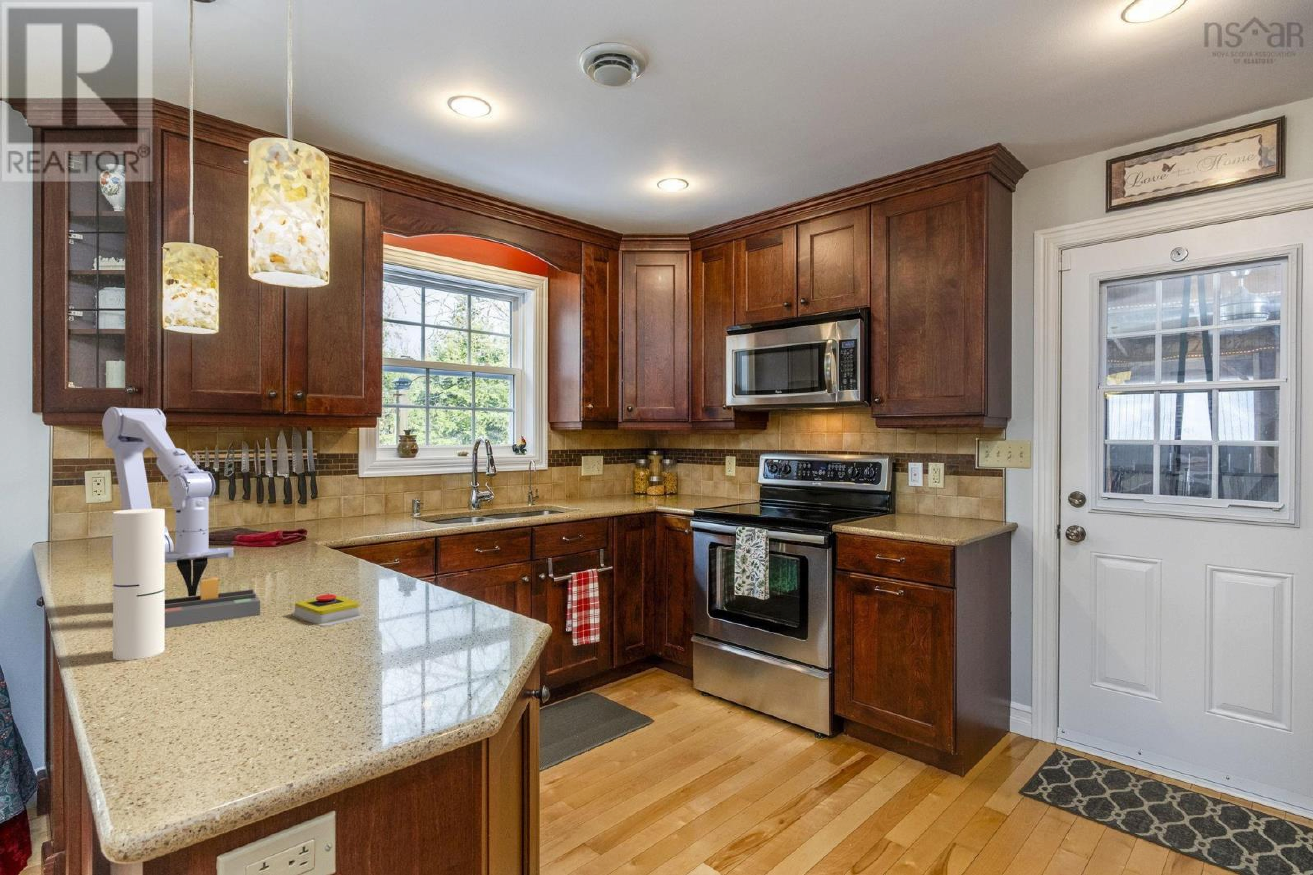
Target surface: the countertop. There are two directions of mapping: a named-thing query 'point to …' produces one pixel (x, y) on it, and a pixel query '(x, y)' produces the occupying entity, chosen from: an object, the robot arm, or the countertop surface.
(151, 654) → the cylindrical container
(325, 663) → the countertop surface
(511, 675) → the countertop surface
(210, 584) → the knob
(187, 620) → the switch panel
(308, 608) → the emergency button
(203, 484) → the robot arm
